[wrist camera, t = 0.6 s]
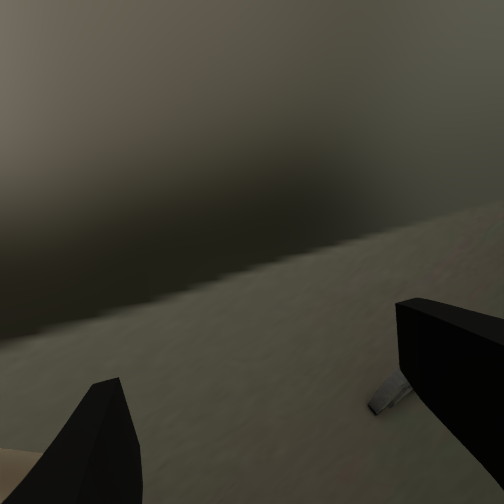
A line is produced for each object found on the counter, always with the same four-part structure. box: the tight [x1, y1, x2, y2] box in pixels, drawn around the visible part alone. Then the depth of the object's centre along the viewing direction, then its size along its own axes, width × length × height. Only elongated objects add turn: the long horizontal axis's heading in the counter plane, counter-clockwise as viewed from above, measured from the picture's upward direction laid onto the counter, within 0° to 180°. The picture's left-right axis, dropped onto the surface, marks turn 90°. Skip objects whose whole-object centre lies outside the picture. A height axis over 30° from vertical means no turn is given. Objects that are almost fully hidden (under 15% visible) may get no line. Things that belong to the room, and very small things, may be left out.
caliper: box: [368, 366, 413, 415], centre depth 40 cm, size 20×1×6 cm, turn 122°
